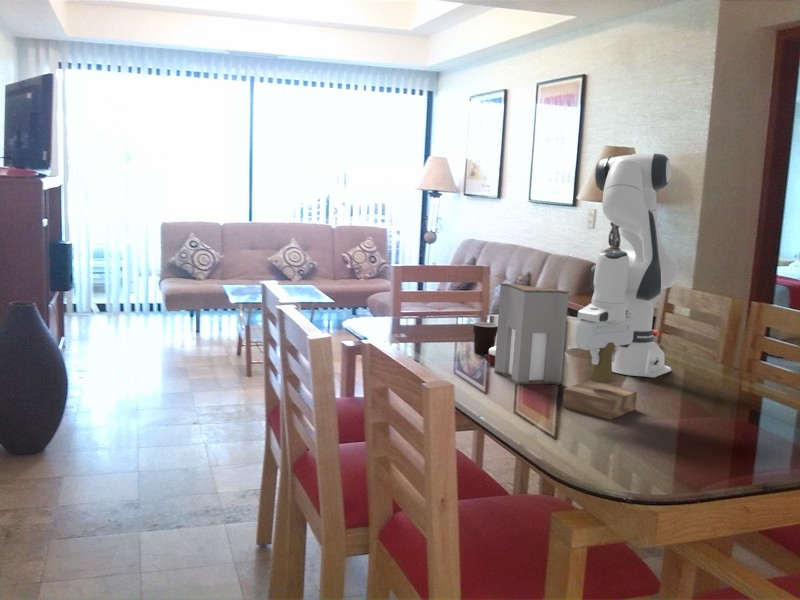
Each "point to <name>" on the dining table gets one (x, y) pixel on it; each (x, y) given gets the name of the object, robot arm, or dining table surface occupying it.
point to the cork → (603, 365)
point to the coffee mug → (484, 337)
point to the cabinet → (531, 334)
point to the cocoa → (491, 355)
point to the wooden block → (599, 399)
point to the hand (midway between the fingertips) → (602, 363)
